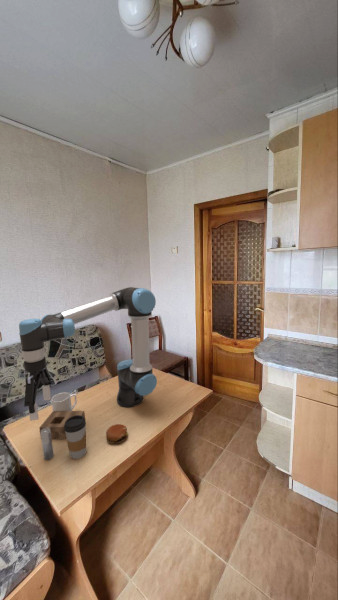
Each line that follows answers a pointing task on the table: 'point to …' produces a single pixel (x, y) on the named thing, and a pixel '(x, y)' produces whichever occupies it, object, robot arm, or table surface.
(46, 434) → the pin
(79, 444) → the coffee cup
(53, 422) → the socket block
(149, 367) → the robot arm
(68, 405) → the mug
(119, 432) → the burger
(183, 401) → the table surface
